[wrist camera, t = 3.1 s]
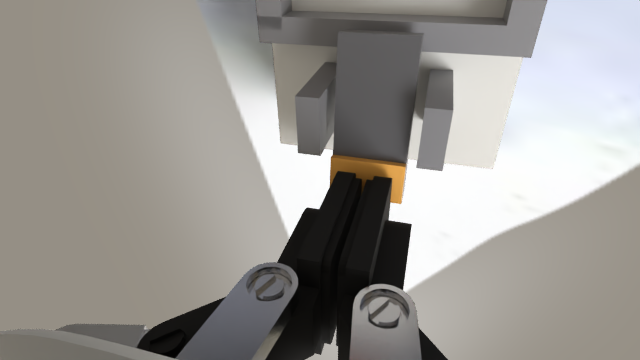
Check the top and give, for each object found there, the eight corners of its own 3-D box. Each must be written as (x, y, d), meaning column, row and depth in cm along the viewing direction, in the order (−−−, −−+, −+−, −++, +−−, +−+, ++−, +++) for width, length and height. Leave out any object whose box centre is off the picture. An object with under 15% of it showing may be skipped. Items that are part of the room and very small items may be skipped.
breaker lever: (345, 29, 11) (335, 32, 10) (424, 32, 11) (422, 37, 10) (338, 180, 13) (329, 195, 12) (404, 189, 13) (400, 207, 12)
